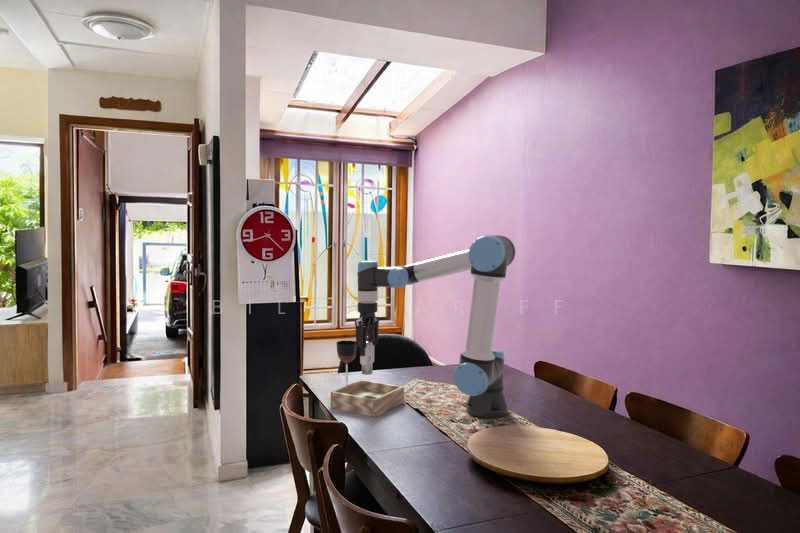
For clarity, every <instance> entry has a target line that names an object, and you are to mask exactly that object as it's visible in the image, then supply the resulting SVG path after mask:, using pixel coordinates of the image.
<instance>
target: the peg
mask: <svg viewBox="0 0 800 533" xmlns="http://www.w3.org/2000/svg"><path fill="white" fill-rule="evenodd" d="M366 347H367V365H363V364H361V374H362V375H369V376H370V375H372V374H373V362H372V347H373V342H372V341H368V340H367V342H366Z"/></svg>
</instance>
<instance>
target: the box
mask: <svg viewBox="0 0 800 533" xmlns="http://www.w3.org/2000/svg"><path fill="white" fill-rule="evenodd" d="M404 402H405V386H402V385H395V384H390V383H384V382H377V381H372V380H366V379H360V380H358V381H355V382H352V383H349V384H348V385H347V386H346V385H345V386H343V387H340V388H338V389H335V390H332V391H330V408H332V409H334V410H335V409H336V410H340V411H345V412H350V413H355V414H359V415H363V416H369V417H375V418H376V417H378V416H380V415H382V414H384V413H385V412H387V411H389V410H391V409H393V408H395V407H397V406H399V405H401V404H403V403H404Z"/></svg>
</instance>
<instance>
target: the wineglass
mask: <svg viewBox="0 0 800 533" xmlns="http://www.w3.org/2000/svg"><path fill="white" fill-rule="evenodd" d="M336 352H337V357H338V358H339V359H338V360H340V361H341V362H343V363H344V364H345V386H347V385H349V384H348V383H349V382H348V378H349V377H348V376H349V375H348V371H349V370H348V369H349V367H348V366H349V363H351V362H352V361H353V360H354V359H355V358H356V354H357V346H356V340H340V341H339V340H338V341H336Z"/></svg>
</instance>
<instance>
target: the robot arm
mask: <svg viewBox="0 0 800 533" xmlns="http://www.w3.org/2000/svg"><path fill="white" fill-rule="evenodd" d="M515 256H516V247H515V244H514V243H513V241H512V240H511V239H510V238H508V237H506V236H504V235H499V234H498V235H494V234H487V235H483V236H479V237H477V238H476V239H475V240H474V241H472V242H471V244H470V247H469V249H465V250H461V251H457V252H454V253H453V252H452V253H450V254H445V255H442V256H438V257H435V258H434V257H433V258H430V259H426V260H423V261H419V262H418V261H417V262H414V263H410V264H407V265H398V266H397V265H396V266H379V263H378V261H376V260H361V261H359V262H358V263H357V272H356V274H357V301H358V302H357V312H358V313H359V318H358V319H357V320H354V325H355V342H356V347H358V348H359V355H360V356H359V359H360V360H359V363H360V365H362V364H363V365H367V347H366V342H367V341H372V342H373V347H372V363H375V350H376V348H375V346H377V345H378V343H379V323H380V320H381V319H380V317H379V316H377V315H376V313H377V312H378V302H377V301H378V300H379V299H378V290H379V288H378V287H380V288H381V287H382V288H391V289H392V288H393V289H403V288H405V287H406V286H410V285H414V284H417V283H420V282H425V281H429V280H434V279H438V278H443V277H447V276H451V275H455V274H459V273H465V272H468V271H470V275H471V276H472V278H473V288H472V293H471V294H472V295H471V296H472V297H471V305H470V312H469V320H468V327H467V333H466V334H467V338H466V344H465V348H464V349H461V351H460V354H459V364H458V365H457V366H456V367H455V369H454V371H453V381H454V385H455V387H456V388H457V389H458V390H459V391H460V392H461V393H462V394H464V395H466V396H468V398H467V402H466V413H467V414H469V415H471V416H474V417H478V418H483V419H497V418H503V417H505V416H508V414H509V405H508V401H507V398H506V394H505V391H504V390H505V389H504V388H505V386H504V385H505V379H504V377H505V358H504V357H505V354H504V352H503V351H502V350H500V349H495V348H493V347H492V346H493V341H494V340H493V339H494V331H495V326H496V325H495V324H496V323H495V322H496V317H497V308H498V301H499V294H500V286H501V282H502V281H504V279H506V274H507V268H508V266H510V265H511V264H512V262H514V259H515ZM367 339H368V340H367Z"/></svg>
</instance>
